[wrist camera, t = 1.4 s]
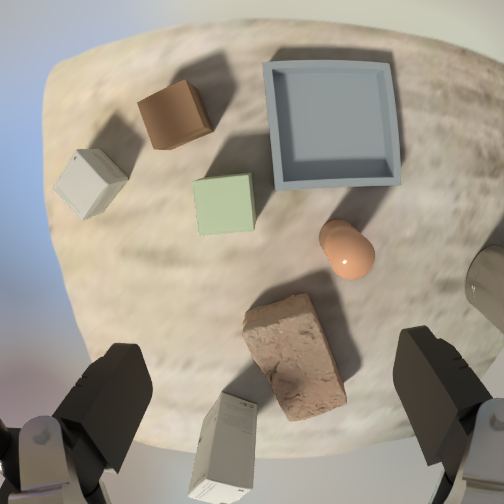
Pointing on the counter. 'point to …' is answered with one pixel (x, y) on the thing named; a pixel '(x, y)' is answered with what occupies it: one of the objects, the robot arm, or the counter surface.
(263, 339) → the brick
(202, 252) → the counter surface
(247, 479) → the skincare box
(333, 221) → the peach capsule
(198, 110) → the walnut cube
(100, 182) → the small box
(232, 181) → the green block
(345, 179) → the tray
